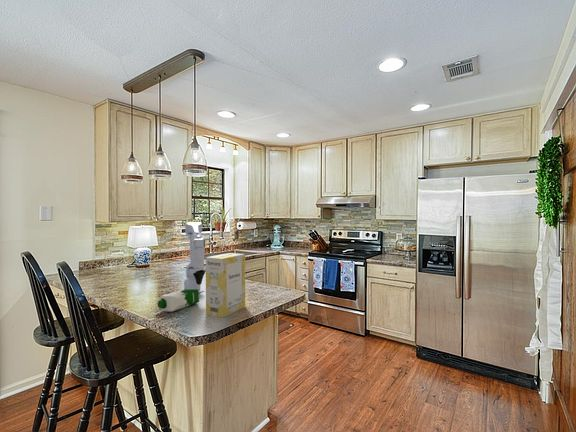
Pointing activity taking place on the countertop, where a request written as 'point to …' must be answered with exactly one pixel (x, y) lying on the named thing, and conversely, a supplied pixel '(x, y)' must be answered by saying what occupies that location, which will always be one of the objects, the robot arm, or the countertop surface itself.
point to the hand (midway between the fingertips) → (199, 284)
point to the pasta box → (225, 284)
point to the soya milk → (178, 300)
